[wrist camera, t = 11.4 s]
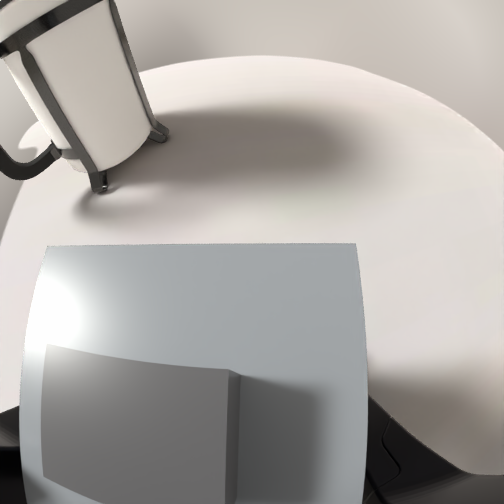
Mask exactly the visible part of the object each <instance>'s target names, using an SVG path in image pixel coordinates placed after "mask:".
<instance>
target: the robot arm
mask: <svg viewBox="0 0 504 504" xmlns="http://www.w3.org/2000/svg"><path fill="white" fill-rule="evenodd" d="M19 407H20V405H19V406H17V407H14V408H12V409H10V410H7V411H5V412H2V413H0V504H27V500H26V494H25V488H24V481H23V473H22V464H21V452H20V430H19ZM390 417H391V416H390V415H389V414H388V413H387V412H386V411H385V410H384V409H383V408H382V407H381V406H380V405H379V404H378V403H377V402H376V401H375V400H374V399H373V398H372V397H371V396H369V395H368V427H367V451H366V467H365V479H364V489H363V498H362V504H504V475H477V474H471V473H468V472H465V471H463V470H461V469H459V468H457V467H456V466H454V465H453V464H451V463H450V462H448V461H447V460H445V459H444V458H443V457H441V456H440V455H438V454H437V453H435V452H434V451H433V450H431V449H430V448H428V447H427V446H426V445H424V444H423V443H422V442H420V441H419V440H418V439H416V438H415V437H414V436H413V435H411V434H410V433H409V432H408V431H407V430H406V429H405V428H403V427H402V426H401V425H400V424H399V423H398V422H397V421H396V420H395V419H394V418H392V417H391V418H390Z"/></svg>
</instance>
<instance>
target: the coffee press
mask: <svg viewBox="0 0 504 504" xmlns="http://www.w3.org/2000/svg"><path fill="white" fill-rule="evenodd" d="M0 58H1V59H2V58H3V59H4V61H5V63H6V65H7V67H8V69H9V70H10V72H11V74H12V76H13V78H14V79H15V81H16V83H17V84H18V86H19V88H20V90H21V92H22V93H23V95H24V97H25V98H26V100H27V102H28V103H29V105H30V107H31V108H32V110H33V111H34V113H35V115H36V116H37V118H38V119H39V121H40V123H41V124H42V126H43V127H44V129H45V130H46V132H47V133H48V135H49V136H50V138H51V142H52V144H50V145H49V147H48V148H47V149H46V150H45V151H44V152H43V153H41V154H40V155H39V156H38V157H37V158H35V159H34V160H33V161H31V162H28V163H19V162H16V161H14V160H13V159H12V158H11V157H10V156H9V155H8V154H7V153H6V151H5V150H4V149H3V148H2V146H1V145H0V171H1V172H2V173H4V174H5V175H6V176H8V177H10V178H12V179H15V180H27V179H30V178H33V177H35V176H37V175H38V174H40V173H41V172H42V171H44V170H45V169H46V168H48V167H49V166H50V165H51V164H52V163H53V162H54V161H56V160H57V159H59V158H60V157H63V158H65V159H66V161H67V162H68V163H69V165H70V166H71V167H72V168H73V169H75V170H77V171H79V172H84V173H88V175H89V179H90V183H91V188H92V190H93V192H94V193H97V192H102V191H106V190H107V175H106V172H107V169H109V168H111V167H113V166H115V165H117V164H119V163H121V162H122V161H124V160H125V159H127V158H128V157H130V156H131V155H132V154H133V153H134V152H135V151H137V150H138V149H139V148H140V146H141V145H142V144H143V143H144V142H145V140H146V139H147V138H148V139H152V140H154V141H156V142H159V143H164V142H166V141H167V139H168V134H169V130H168V128H166V127H165V126H163V125H162V124H160V123H159V122H158V121H157V120H156V119H155V118H154V116H153V113H152V110H151V108H150V105H149V102H148V100H147V97H146V94H145V91H144V88H143V85H142V83H141V80H140V77H139V74H138V71H137V68H136V65H135V62H134V59H133V57H132V54H131V50H130V47H129V44H128V41H127V38H126V35H125V32H124V29H123V26H122V22H121V19H120V16H119V13H118V10H117V6H116V3H115V0H0ZM152 127H153V128H154V129H156V130H157V131H158V132H160V133H162V134H163V135H160V134H158V133H156V132H153V131H151V129H152Z"/></svg>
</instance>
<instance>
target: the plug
mask: <svg viewBox="0 0 504 504" xmlns="http://www.w3.org/2000/svg"><path fill="white" fill-rule="evenodd" d="M367 427H368V375H367V349H366V332H365V319H364V307H363V297H362V287H361V278H360V270H359V262H358V255H357V248H356V244H348V243H286V244H149V245H83V246H47V248H46V251H45V255H44V258H43V261H42V265H41V268H40V272H39V276H38V280H37V284H36V288H35V292H34V296H33V301H32V305H31V310H30V315H29V321H28V326H27V332H26V338H25V345H24V353H23V361H22V372H21V384H20V407H19V430H20V452H21V464H22V473H23V481H24V488H25V494H26V500H27V504H362V498H363V489H364V479H365V467H366V451H367Z"/></svg>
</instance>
